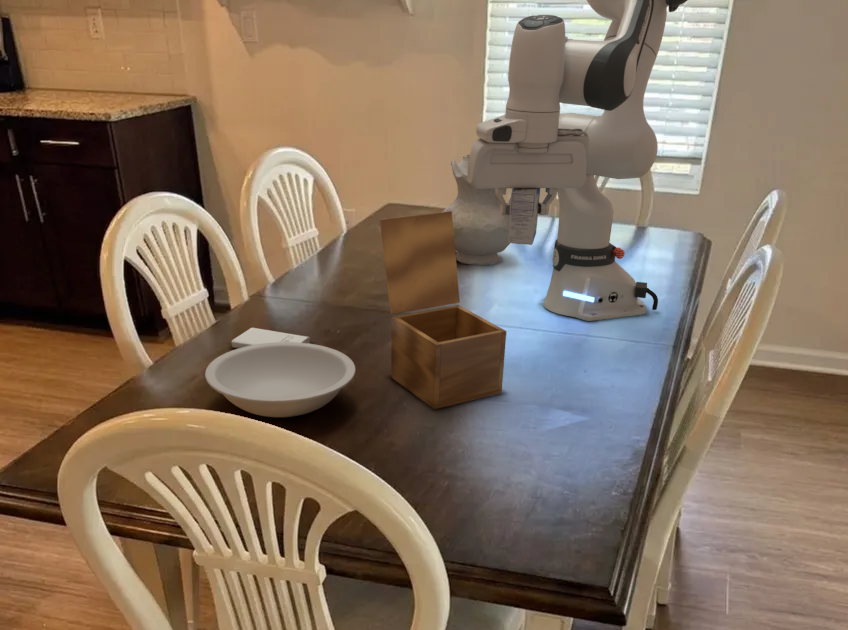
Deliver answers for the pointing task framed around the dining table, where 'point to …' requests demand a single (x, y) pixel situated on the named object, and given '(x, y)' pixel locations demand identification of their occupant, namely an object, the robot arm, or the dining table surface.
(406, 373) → the chest
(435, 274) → the lid
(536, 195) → the medicine box
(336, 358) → the soup bowl
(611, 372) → the dining table surface
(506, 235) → the ceramic pitcher
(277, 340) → the hard drive
